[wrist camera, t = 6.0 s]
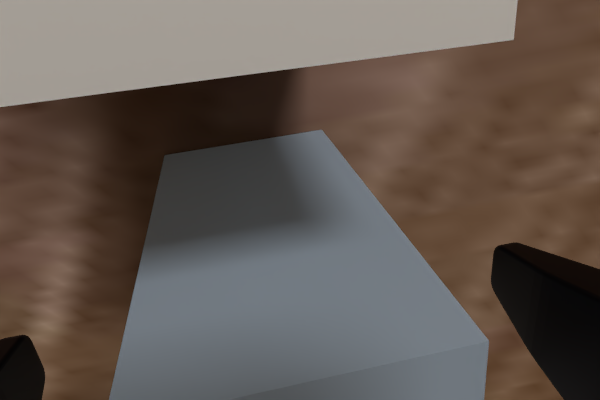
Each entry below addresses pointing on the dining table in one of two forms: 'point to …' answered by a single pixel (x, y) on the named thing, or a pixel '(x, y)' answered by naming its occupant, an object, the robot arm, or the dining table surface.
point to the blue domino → (287, 288)
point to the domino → (218, 39)
